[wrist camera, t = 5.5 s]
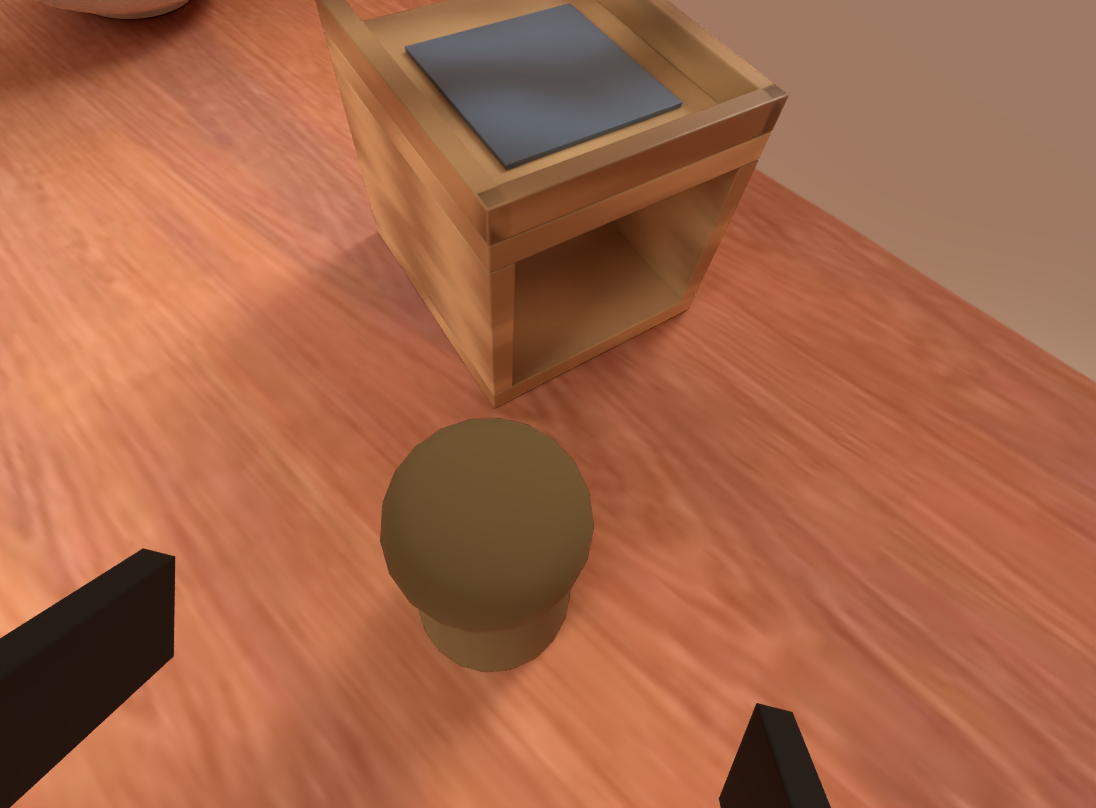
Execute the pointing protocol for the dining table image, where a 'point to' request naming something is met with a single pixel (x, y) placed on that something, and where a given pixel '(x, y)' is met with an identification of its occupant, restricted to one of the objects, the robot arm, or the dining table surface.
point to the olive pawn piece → (488, 539)
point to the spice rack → (548, 166)
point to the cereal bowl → (118, 7)
